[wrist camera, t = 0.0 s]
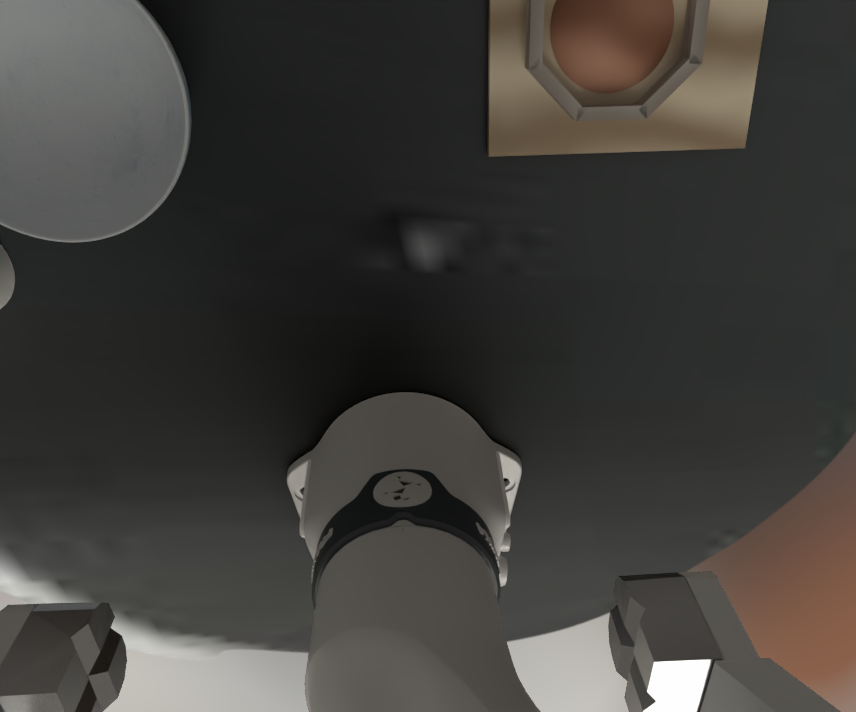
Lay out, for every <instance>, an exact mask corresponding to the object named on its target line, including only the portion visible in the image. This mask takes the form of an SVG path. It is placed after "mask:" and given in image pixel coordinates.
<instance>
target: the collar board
mask: <svg viewBox="0 0 856 712" xmlns="http://www.w3.org/2000/svg"><path fill="white" fill-rule="evenodd" d="M767 5H768V0H489V30H488V145H487V155H488V156H489V157H493V156H523V155H553V154H583V153H613V152H643V151H673V150H703V149H733V148H745V145H746V138H747V132H748V126H749V119H750V113H751V107H752V100H753V94H754V88H755V81H756V75H757V69H758V62H759V56H760V50H761V43H762V37H763V30H764V24H765V18H766V11H767Z"/></svg>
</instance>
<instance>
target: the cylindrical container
mask: <svg viewBox="0 0 856 712" xmlns="http://www.w3.org/2000/svg"><path fill="white" fill-rule="evenodd" d="M14 286H15V273H14V269H13V265H12V262H11V260H10V258H9V256H8V254H7V252H6V251H5V249H4V248H3V247H2V245H1V244H0V309H1V308H2V307H4V306H5V305H6V304H7V302H8V301H9V300H10V298H11V296H12V293H13V291H14Z"/></svg>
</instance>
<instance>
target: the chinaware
mask: <svg viewBox="0 0 856 712" xmlns="http://www.w3.org/2000/svg"><path fill="white" fill-rule="evenodd" d="M191 128H192V112H191V102H190V95H189V90H188V86H187V82H186V78H185V75H184V72H183V69H182V66H181V64H180V61H179V59H178V57H177V54H176V52H175V50H174V48H173V46H172V44H171V43H170V41H169V39H168V38H167V36H166V34H165V33H164V31H163V30H162V28H161V27H160V25H159V24H158V23H157V21H156V20H155V19H154V17H153V16H152V15H151V14H150V12H149V11H148V10H147V9H146V8H145V7H144V6H143V4H142V3H141V2H140V1H139V0H0V224H1V225H3V226H5V227H7V228H10V229H12V230H14V231H17V232H20V233H22V234H25V235H29V236H32V237H36V238H40V239H45V240H50V241H58V242H88V241H95V240H100V239H105V238H109V237H112V236H115V235H117V234H120V233H122V232H125V231H127V230H129V229H131V228H133V227H134V226H136V225H138V224H139V223H141V222H142V221H144V220H145V219H146V218H148V217H149V216H150V215H151V214H152V213H153V212H154V211H156V210H157V208H158V207H159V206H160V205H161V204H162V203H163V202H164V201H165V199H166V198H167V197H168V195H169V194H170V192H171V191H172V189H173V188H174V186H175V184H176V182H177V180H178V178H179V176H180V174H181V172H182V169H183V167H184V164H185V161H186V157H187V154H188V150H189V145H190V139H191Z"/></svg>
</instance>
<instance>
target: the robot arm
mask: <svg viewBox="0 0 856 712" xmlns="http://www.w3.org/2000/svg"><path fill="white" fill-rule="evenodd" d="M521 474H522V466H521V460H520V458H519V457H518V456H517V455H516V454H514V453H513V452H512V451H510V450H508V449H506V448H505V447H503V446H501V445H499V444H497V443H495V442H493V441H492V440H491V439H490V438H489V437H488V436H487V435H486V433H485V432H484V431H483V429H482V428H481V427H480V426H479V424H478V423H477V422H476V421H475V420H474V419H473V418H472V417H471V416H470V415H469V414H468V413H466V412H465V411H464V410H462V409H461V408H459V407H458V406H456V405H454V404H452V403H450V402H448V401H446V400H444V399H441V398H438V397H435V396H431V395H427V394H422V393H412V392H399V393H389V394H384V395H379V396H376V397H372V398H370V399H367V400H365V401H362V402H360V403H358V404H356V405H354V406H353V407H351V408H349V409H348V410H347V411H345V412H344V413H343V414H341V415H340V416H339V417H338V418H337V419H336V420H335V421H334V422H333V423H332V424H331V425H330V427H329V428H328V429H327V431H326V432H325V434H324V435H323V437H322V439H321V440H320V442H319V443H318V444H317V446H316V447H315V448H314V449H313V450H312V451H310V452H308V453H307V454H305V455H304V456H302V457H301V458H299V459H298V460H296V461H295V462H294V463H293V464H292V465H291V466H290V467H289V468H288V471H287V484H288V487H289V490H290V493H291V495H292V498H293V501H294V503H295V506H296V509H297V511H298V514H299V517H300V526H299V531H300V536H301V537H303V538H305V540H306V543H307V547H308V549H309V551H310V554H311V556H312V558H313V566H312V575H311V577H312V579H311V583H312V600H313V605H314V609H315V615H314V621H313V628H312V635H311V642H310V648H309V655H308V662H307V669H306V675H305V695H306V701H307V706H308V710H309V712H540V710H539V709H538V708H537V707H536V706H535V704H534V703H533V701H532V700H531V698H530V697H529V695H528V694H527V692H526V691H525V689H524V687H523V685H522V683H521V682H520V680H519V678H518V676H517V673H516V671H515V668H514V665H513V662H512V659H511V656H510V652H509V649H508V645H507V642H506V638H505V634H504V630H503V627H502V622H501V618H500V613H499V609H498V602H499V596H500V586H501V587H502V586H504V585H505V584H506V581H507V573H508V565H507V559H506V557H504V556H500V553H501V551H503V552H505V551H506V552H508V551H509V549H510V543H511V538H510V534H509V533H506V530H507V528H508V527H509V526H510V515H511V512H512V508H513V504H514V500H515V497H516V493H517V489H518V485H519V482H520V478H521ZM504 478H507V479H508V480H507V481H505V482H504ZM303 487H304V490H303V489H302V488H303ZM613 593H614V596H615V599H616V602H617V606H616V607H614V608H613V609H612V610H611V611H610V617H609V643H610V648H611V652H612V657H613V661H614V664H615V667H616V671H617V672H618V673H619V674H620V675H621V676H622V677H623V678H625V679H626V680H627V681H628V682H627V687H626V693H625V700H626V703H627V706H628V710H629V712H840V711H839V710H838V709H836V708H835V707H834V706H832V705H831V704H830V703H828V702H827V701H826V700H824V699H823V698H822V697H820V696H819V695H818V694H816V693H815V692H814V691H813V690H811V689H810V688H809V687H807V686H806V685H805V684H803V683H802V682H801V681H799V680H798V679H797V678H795V677H794V676H793V675H791V674H790V673H788V672H787V671H786V670H785V669H783V668H782V667H781V666H779V665H778V664H777V663H775V662H774V661H773V660H771V659H770V658H760V657H759V656H758V654H757V652H756V650H755V648H754V646H753V644H752V642H751V640H750V638H749V637H748V635H747V633H746V631H745V629H744V627H743V625H742V623H741V622H740V620H739V618H738V616H737V614H736V612H735V610H734V608H733V606H732V604H731V602H730V601H729V599H728V597H727V595H726V593H725V591H724V589H723V587H722V585H721V583H720V581H719V580H718V578H717V576H716V575H715V574H714V573H712V572H711V571H707V572H687V573H679V574H678V573H661V574H645V575H629V576H618V578H617V579H616V581H615V586H614V591H613ZM114 618H115V616H114V614H113V612H112V609H111V607H110V605H109V603H103V602H96V603H52V604H26V605H8V606H6V607H5V608H4V609H3V610H1V611H0V712H103V711H104V710H105V709H106V708H107V707H108V706H109V705H110V704H111V703H112V702H113V701H115V700H116V699H117V698H118V696H119V693H120V690H121V687H122V684H123V681H124V677H125V669H126V662H127V658H126V647H125V644H124V641H123V638H122V636H121V635H120V634H118V633H117V632H115V631H114V630H113V629H111V628H110V627H111V625H112V622H113V620H114Z"/></svg>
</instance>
